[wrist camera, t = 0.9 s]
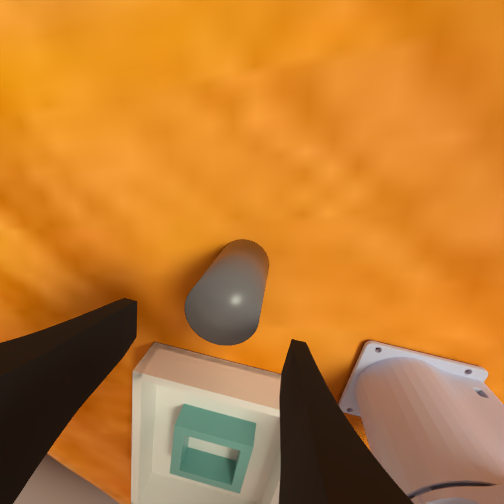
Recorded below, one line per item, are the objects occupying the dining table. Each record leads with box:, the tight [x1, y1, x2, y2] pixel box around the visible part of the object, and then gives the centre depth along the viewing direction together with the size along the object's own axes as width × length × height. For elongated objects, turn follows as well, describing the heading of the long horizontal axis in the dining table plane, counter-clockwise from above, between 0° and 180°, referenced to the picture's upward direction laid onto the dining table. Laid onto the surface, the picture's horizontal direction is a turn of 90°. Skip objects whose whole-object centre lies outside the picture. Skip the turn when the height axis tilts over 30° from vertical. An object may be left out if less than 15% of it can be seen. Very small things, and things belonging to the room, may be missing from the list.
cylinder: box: [185, 239, 269, 345], centre depth 16 cm, size 4×4×7 cm
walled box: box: [131, 342, 281, 504], centre depth 25 cm, size 15×20×4 cm
